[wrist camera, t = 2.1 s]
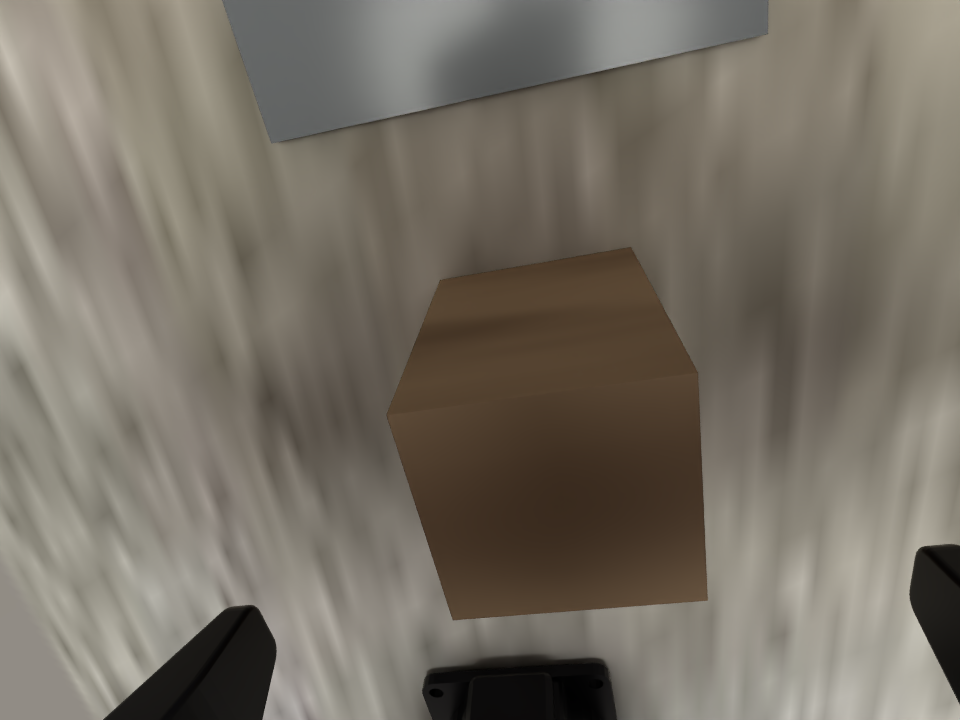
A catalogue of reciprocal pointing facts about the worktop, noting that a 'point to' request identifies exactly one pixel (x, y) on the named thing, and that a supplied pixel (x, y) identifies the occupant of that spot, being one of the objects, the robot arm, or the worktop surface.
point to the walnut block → (554, 441)
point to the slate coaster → (452, 49)
